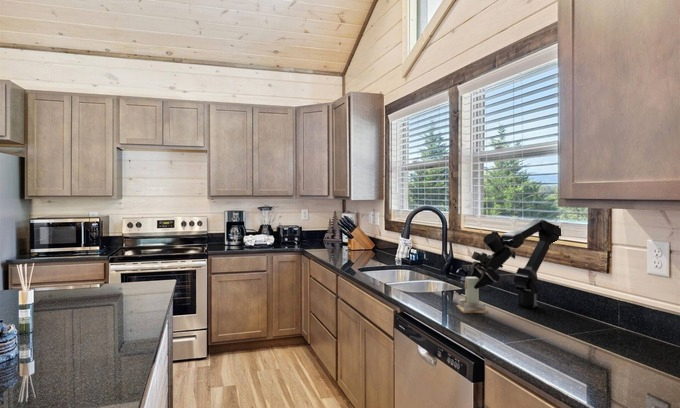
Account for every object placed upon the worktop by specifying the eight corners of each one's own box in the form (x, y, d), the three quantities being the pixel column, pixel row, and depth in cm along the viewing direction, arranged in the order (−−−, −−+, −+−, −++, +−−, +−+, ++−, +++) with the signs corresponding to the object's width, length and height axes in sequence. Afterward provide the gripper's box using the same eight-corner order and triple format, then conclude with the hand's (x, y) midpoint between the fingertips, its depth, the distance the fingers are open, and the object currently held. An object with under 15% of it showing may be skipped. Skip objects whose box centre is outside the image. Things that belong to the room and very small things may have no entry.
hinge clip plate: (480, 306, 182) (480, 299, 182) (487, 312, 173) (488, 304, 173) (456, 306, 182) (456, 299, 182) (462, 312, 173) (463, 304, 173)
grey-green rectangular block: (475, 306, 179) (476, 276, 179) (478, 309, 176) (478, 278, 175) (463, 306, 179) (463, 276, 179) (465, 308, 176) (466, 278, 175)
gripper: (476, 242, 186) (450, 267, 186) (492, 247, 168) (463, 276, 168) (494, 260, 187) (469, 286, 187) (512, 267, 168) (484, 296, 168)
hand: (470, 285), depth 177 cm, fingers open, 9 cm apart
